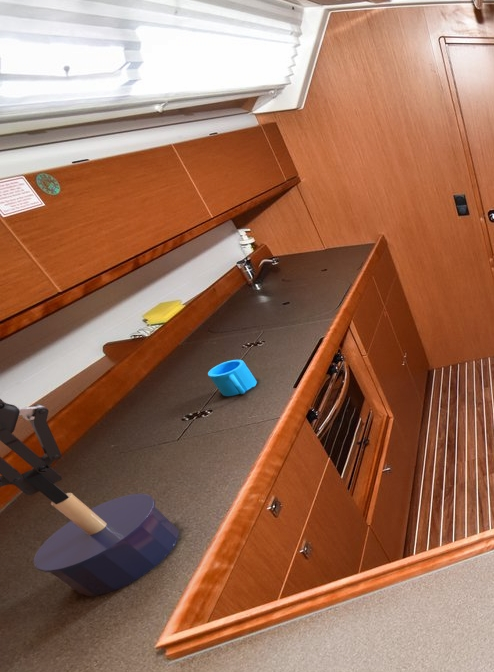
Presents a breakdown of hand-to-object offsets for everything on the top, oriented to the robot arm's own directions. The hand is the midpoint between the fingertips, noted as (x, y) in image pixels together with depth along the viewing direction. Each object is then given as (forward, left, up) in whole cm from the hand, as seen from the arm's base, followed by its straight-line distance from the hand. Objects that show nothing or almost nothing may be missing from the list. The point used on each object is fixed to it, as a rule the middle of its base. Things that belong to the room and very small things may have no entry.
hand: (60, 497), depth 71 cm
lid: (0, 0, -10) cm, 10 cm away
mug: (-41, +36, -20) cm, 58 cm away
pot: (0, 0, -19) cm, 19 cm away
